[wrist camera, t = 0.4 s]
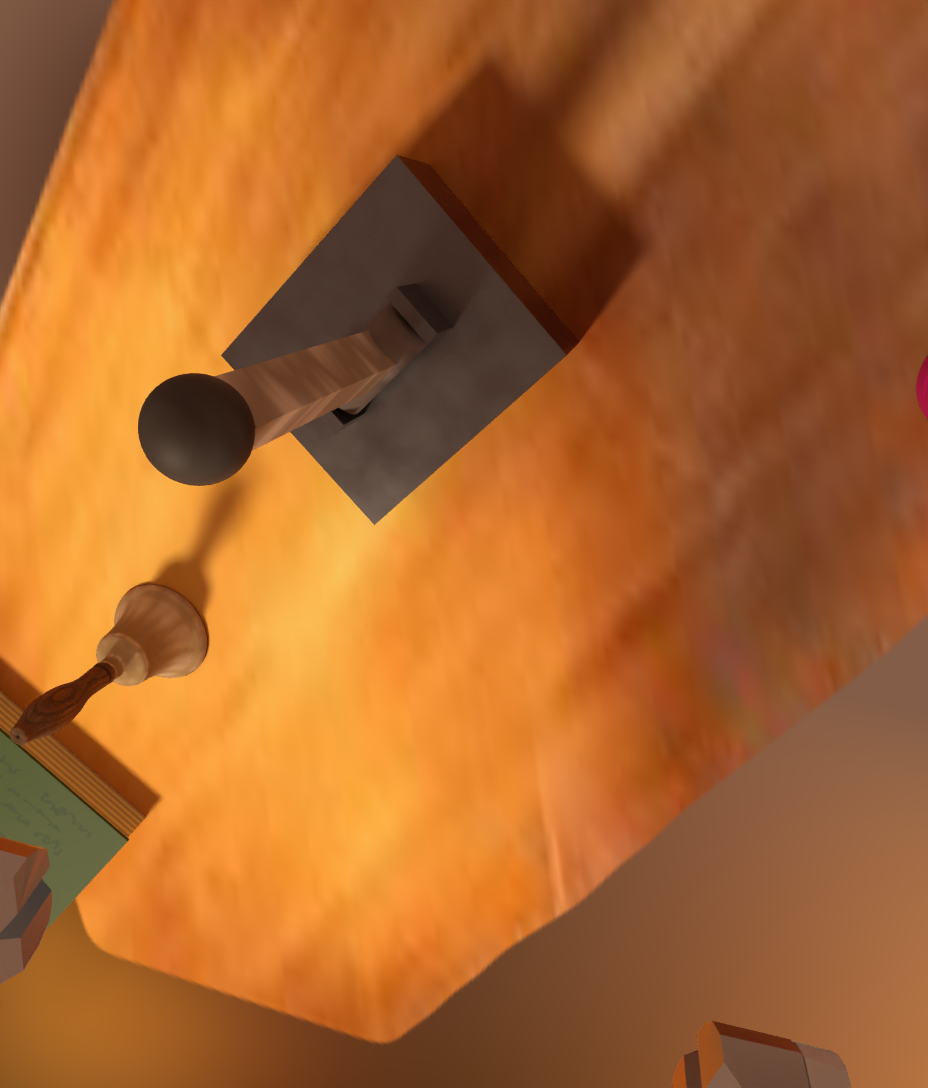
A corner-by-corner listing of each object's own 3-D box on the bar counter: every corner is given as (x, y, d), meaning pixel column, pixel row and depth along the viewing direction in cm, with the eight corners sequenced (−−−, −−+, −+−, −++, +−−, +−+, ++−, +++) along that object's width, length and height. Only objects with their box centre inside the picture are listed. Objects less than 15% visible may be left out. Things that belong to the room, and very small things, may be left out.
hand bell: (102, 590, 67) (-59, 688, 52) (188, 578, 64) (44, 677, 50) (137, 680, 69) (-8, 797, 55) (221, 671, 67) (92, 793, 52)
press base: (579, 342, 51) (558, 363, 42) (403, 497, 57) (354, 543, 49) (428, 164, 49) (375, 149, 41) (266, 343, 56) (191, 363, 47)
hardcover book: (-5, 676, 74) (-39, 698, 70) (152, 813, 75) (127, 841, 72) (-102, 819, 84) (-135, 844, 81) (38, 938, 85) (11, 967, 82)
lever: (442, 347, 47) (260, 431, 27) (372, 415, 49) (157, 538, 29) (394, 293, 46) (174, 336, 26) (326, 364, 49) (77, 453, 29)
